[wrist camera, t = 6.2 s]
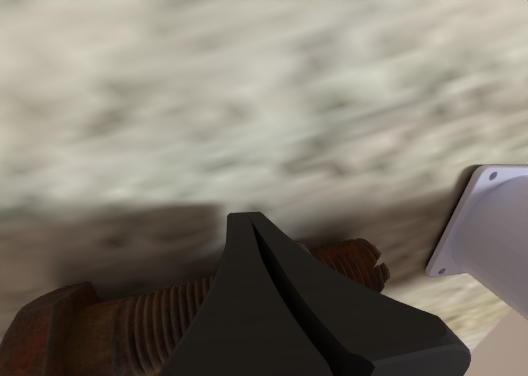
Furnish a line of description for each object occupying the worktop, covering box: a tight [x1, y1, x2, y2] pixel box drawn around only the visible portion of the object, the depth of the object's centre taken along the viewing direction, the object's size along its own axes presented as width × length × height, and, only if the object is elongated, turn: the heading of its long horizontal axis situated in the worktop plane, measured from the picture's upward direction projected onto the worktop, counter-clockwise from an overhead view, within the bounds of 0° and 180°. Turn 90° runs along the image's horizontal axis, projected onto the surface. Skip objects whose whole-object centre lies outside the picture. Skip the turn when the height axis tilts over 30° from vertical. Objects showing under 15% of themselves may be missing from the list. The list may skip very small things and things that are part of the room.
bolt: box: [0, 238, 390, 376], centre depth 12 cm, size 6×5×15 cm
